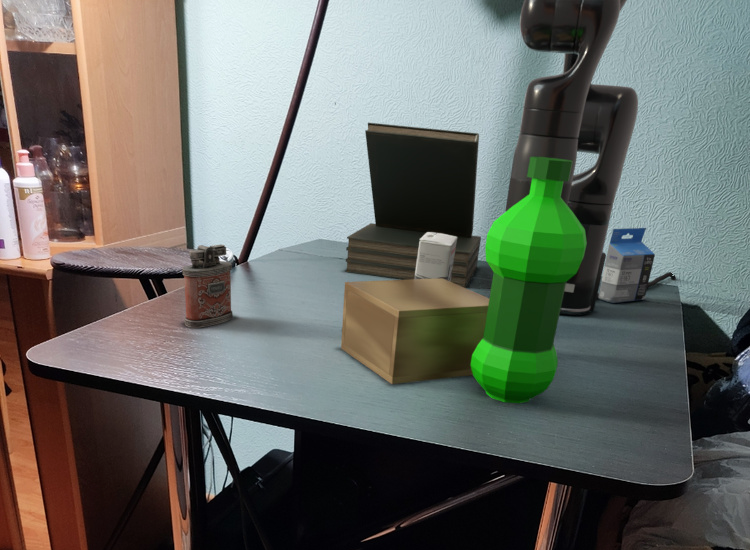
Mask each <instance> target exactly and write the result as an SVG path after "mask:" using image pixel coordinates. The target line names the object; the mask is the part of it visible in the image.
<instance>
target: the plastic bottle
mask: <svg viewBox="0 0 750 550" xmlns="http://www.w3.org/2000/svg"><path fill="white" fill-rule="evenodd" d="M572 164H573V161H570V160H564V159H557V158H547V157H530V162H529V168H528V174H527V177H530V178H532V182H531V188H530V194H529V195H528V196H526V197H525V198H524V199H522V200H521V201H519V202H518V203H517V204H515V205H514V206H512V207H511V208H510V209H509V210H507V211H505V212H504V213H502V214H501V215H500V216H499V217H498V218H496V219H495V220H493V222H492V224H491V226H490V228H489V230H488V232H487V234H486V240H485V247H484V250H485V251H484V252H485V261H486V263H487V264H488V266H489V267H490V269H491V270H492V272H493V274H492V280H491V287H490V293H489V305H488V311H487V317H486V324H485V330H484V336H483V339H482V340H481V341H480V343H479V344H478V345H477V347H476V349H475V351H474V352H473V354H472V359H471V369H472V373H473V375H472V376H473V377H474V379H475V381H476V383H478V384H479V386H480V387H481V388H482V390H483V391H485V394H486V395H487V396H489V397H490V398H491V399H493V400H495V401H498V402H499V401H500V402H503V403H507V404H519V405H520V404H525V403H528V402H530V400H531V399H534V398H536V397H537V396H539V395H541V394H543V393H544V392H545V391H547V390H548V389H549V387H550V385H551V384H552V382H553V381H554V378H555V376H556V372H557V368H558V364H559V360H558V353H557V350H556V347H555V344H554V343H555V338H556V333H557V329H558V323H559V319H560V315H561V314H560V309H561V305H562V300H563V295H564V290H565V286H566V281H568V280H569V279H570V278H571V277H573V276H574V275H575V274H576V273H577V271H578V269H579V266H580V264H581V262H582V259H583V257H584V254H585V249H586V244H587V241H586V234H585V229H584V228H583V226H582V225H581V223H580V222H579V220H578V219H577V218H576V216H575V215H574V213H573V212H572V211H571V209H570V208H569V207H568V206H567V204H566V203H565V202H564V201H563V199H562V198H561V193H562V187H563V182H564V181H569V179H570V174H571V169H572Z"/></svg>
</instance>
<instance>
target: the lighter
mask: <svg viewBox="0 0 750 550" xmlns="http://www.w3.org/2000/svg"><path fill="white" fill-rule="evenodd" d="M221 256H222V257H223V256H227V247H226V245H225V244H214V245H209V246H208V245H207V246H206V245H202V244H201V245H198V246H197V248H196V249H192V250H189V259H190V262H191V264H190V265H186V266H183V267H182V275H183V277H184V294H185V295H184V298H185V301H184V302H185V317H184V325H185V326H186V327H188V328H194V329H197V328H205V327H210V326H214V325H218V324H222V323H224V322H228V321H230V320H233V310H232V289H231V287H232V286H231V285H232V284H231V279H232V278H231V271H232V270H233V264H232V263H231V262H229V261H226V260H225V261H223V260H221V259H220V257H221Z"/></svg>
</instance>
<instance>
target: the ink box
mask: <svg viewBox="0 0 750 550" xmlns="http://www.w3.org/2000/svg"><path fill="white" fill-rule="evenodd" d="M456 243H457V237H456V236H451V235H447V234H442V233H434V232H427V233H426V234H425V235H423V236H422V237H421V238H420V242H419V249H418V256H417V263H416V270H415V278H414V279H436V278H443V279H445V280H447V281H451V275H452V268H453V262H454V256H455V249H456Z"/></svg>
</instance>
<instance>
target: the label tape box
mask: <svg viewBox="0 0 750 550" xmlns="http://www.w3.org/2000/svg"><path fill="white" fill-rule="evenodd" d="M646 230H647V228H646V227H630V228H628V227H627V228H624V227H623V228H613V229H612V231H611V235H610V240H609V243H608V248H607V253H606V259H605V263H604V267H603V272H602V276H601V281H600V286H599V291H598V294H599V297H598V299H597V300H601V301H604V302H607V303H611V304H616V303H625V302H635V301H643V300H645V298H646V295H647V290H648V288H647V286H648V283H649V282H650V278H651V273H652V270H653V265H654V261H655V256H656V254H655V253H654V252H653V251H652V250H651V249H650V248H649V247H648V246H647V245H645V244H644V242H643V239H644V236H645V232H646ZM627 235H629V236H631V237H630V238H629V237H628V238H623V236H627Z"/></svg>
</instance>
